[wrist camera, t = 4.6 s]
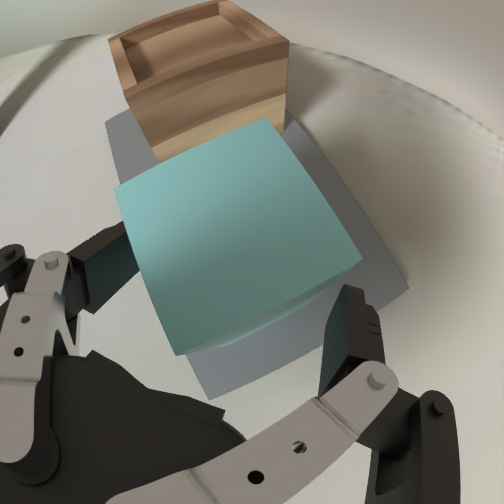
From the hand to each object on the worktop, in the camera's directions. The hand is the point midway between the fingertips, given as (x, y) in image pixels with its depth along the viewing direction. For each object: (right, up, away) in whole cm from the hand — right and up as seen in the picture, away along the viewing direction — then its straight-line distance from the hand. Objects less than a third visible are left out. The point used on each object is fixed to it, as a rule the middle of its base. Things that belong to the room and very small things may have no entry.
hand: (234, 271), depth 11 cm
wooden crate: (-3, +11, +10) cm, 15 cm away
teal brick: (0, -1, +6) cm, 6 cm away
